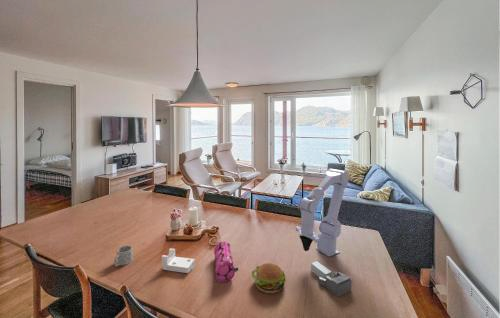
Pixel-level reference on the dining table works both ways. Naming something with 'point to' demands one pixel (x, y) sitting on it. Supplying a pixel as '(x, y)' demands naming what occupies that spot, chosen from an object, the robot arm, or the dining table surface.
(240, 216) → the dining table surface
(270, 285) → the food
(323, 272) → the white rectangular block
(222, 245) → the pencil case
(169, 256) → the bracket
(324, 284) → the endcap
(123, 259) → the mug
